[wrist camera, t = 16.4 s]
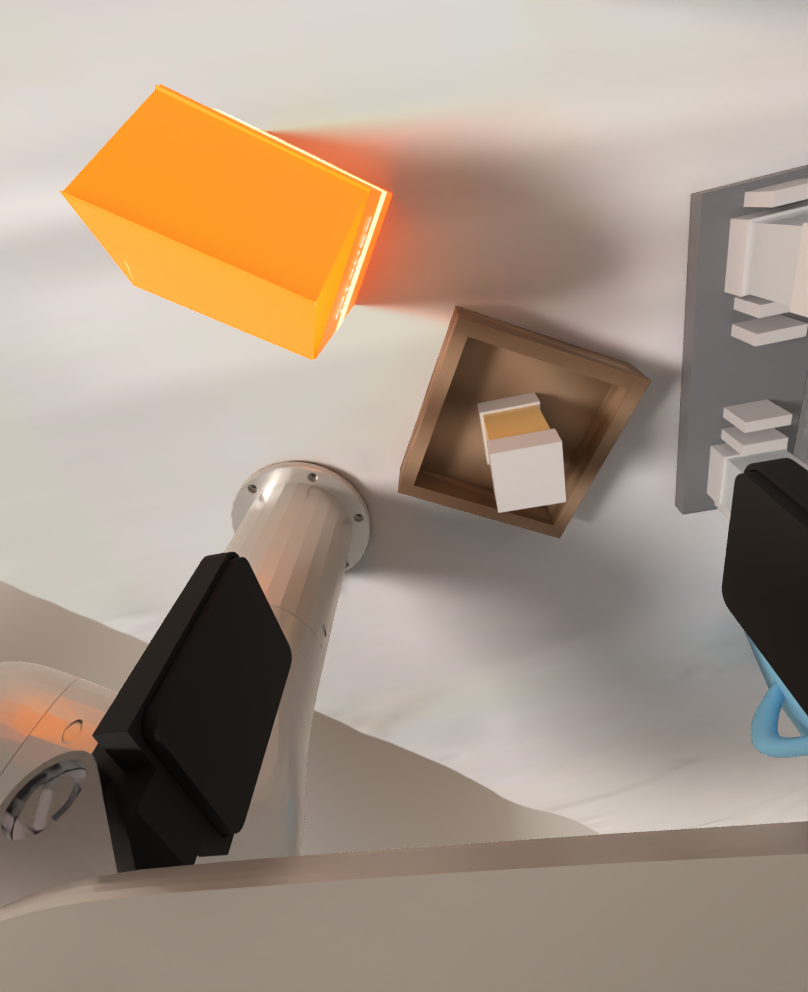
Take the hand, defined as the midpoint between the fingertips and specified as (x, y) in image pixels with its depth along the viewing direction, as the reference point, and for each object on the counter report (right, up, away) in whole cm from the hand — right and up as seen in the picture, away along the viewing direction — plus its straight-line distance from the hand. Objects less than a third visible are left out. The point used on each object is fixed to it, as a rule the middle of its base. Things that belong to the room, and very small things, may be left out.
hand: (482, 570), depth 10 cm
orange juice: (-8, +20, +24) cm, 32 cm away
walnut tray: (+7, +8, +30) cm, 32 cm away
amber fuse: (+7, +7, +30) cm, 31 cm away
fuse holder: (+23, +11, +27) cm, 38 cm away
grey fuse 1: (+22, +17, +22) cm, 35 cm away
